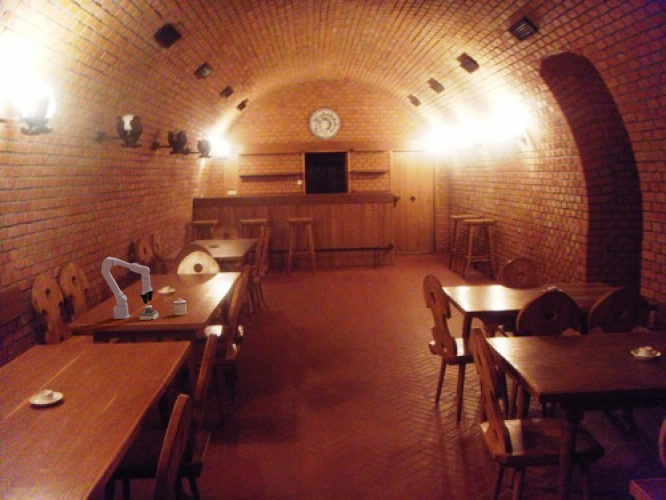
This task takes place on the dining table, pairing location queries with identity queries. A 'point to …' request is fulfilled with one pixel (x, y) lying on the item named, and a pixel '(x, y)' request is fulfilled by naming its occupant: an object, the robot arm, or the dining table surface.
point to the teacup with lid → (179, 307)
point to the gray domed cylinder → (148, 309)
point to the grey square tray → (148, 315)
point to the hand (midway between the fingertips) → (147, 302)
